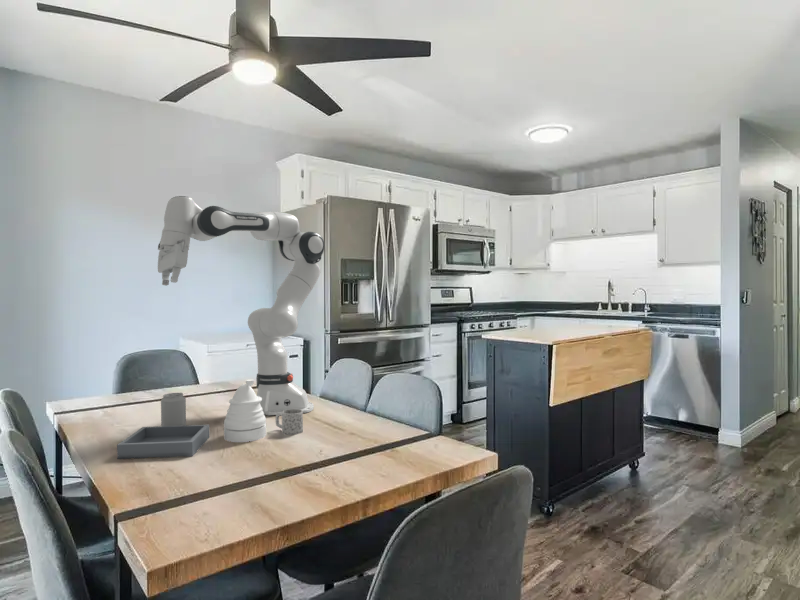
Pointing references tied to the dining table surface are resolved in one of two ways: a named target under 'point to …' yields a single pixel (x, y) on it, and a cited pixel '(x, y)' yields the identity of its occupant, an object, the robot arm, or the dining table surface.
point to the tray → (163, 441)
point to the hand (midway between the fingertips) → (169, 283)
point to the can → (173, 410)
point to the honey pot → (245, 416)
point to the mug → (290, 421)
